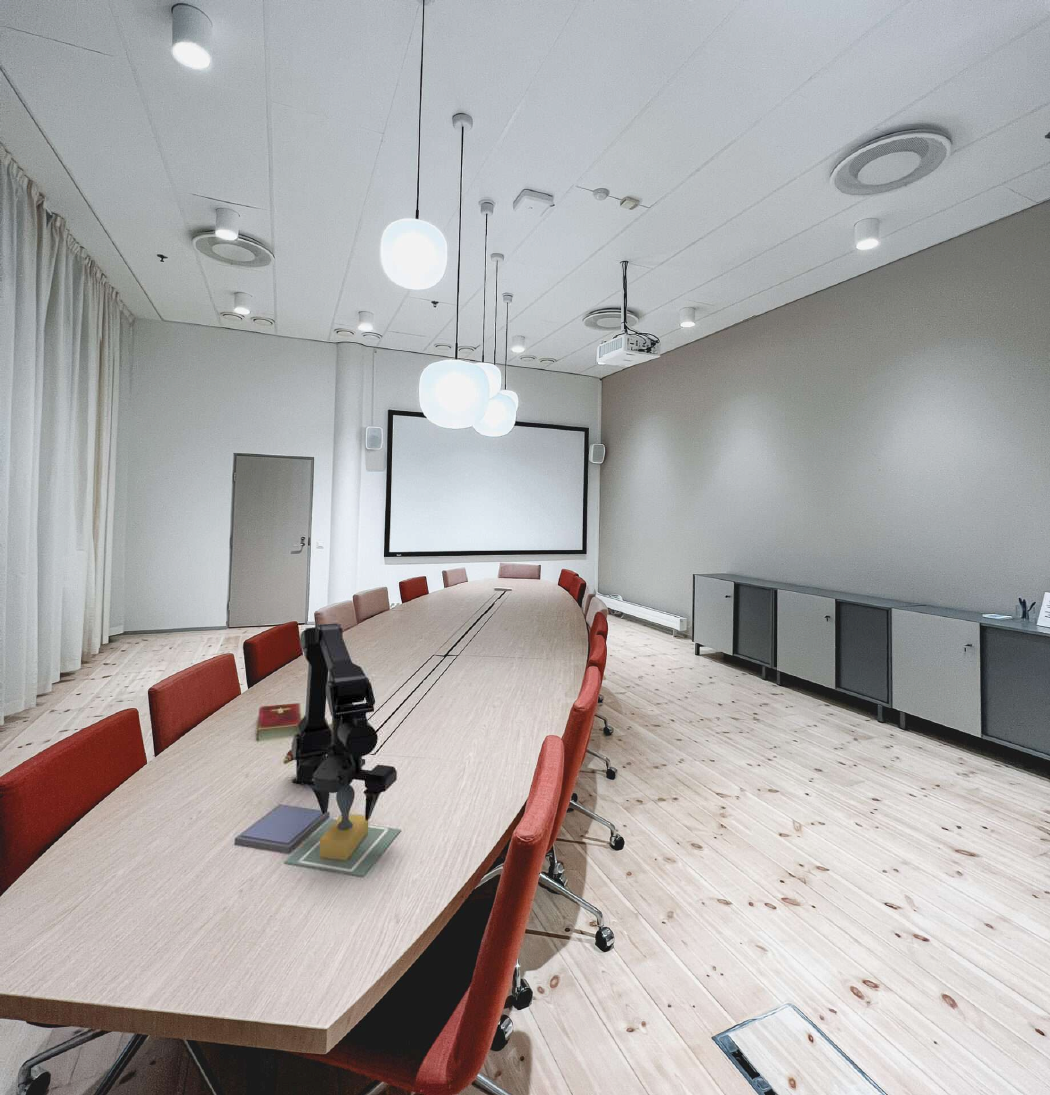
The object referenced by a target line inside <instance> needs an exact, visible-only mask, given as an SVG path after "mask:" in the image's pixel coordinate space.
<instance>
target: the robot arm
mask: <svg viewBox="0 0 1050 1095" xmlns="http://www.w3.org/2000/svg"><path fill="white" fill-rule="evenodd" d="M299 644H300V649H302V650H301V651H302V652H303V654H304V657H305V660H306V661H307V662H308V667H307V681H306V682H307V685H306V700H305V712H304V713H305V714H304V716H303V717H302V720H301V721H300V722H299V724H298V725H297V734H296V735H294V737H292V738H293V739H292V741H291V749H292V755H293V757H294V759H293V760H295V762H296V765H295V766H296V767H295V770H296V772H295V777H294V778H293V779H292V780H291V782H292V783H293V784H294V783H296V784H302V785H303V786H306V787H308V788H310V789H311V790H312V792H313V793H314V795H315V798H316V801H317V802H318V806H319V808H320V810H321V811H322V813H323V814H325V813H326V812H327V811H328V809H329V802H330V794H337V792H338V791H339V790H340V789H341V787H342V786H343V785H348V786H349V785H351V784H352V782H353V780H356V781H364V787H365V790H364V791H363V792H362V793H363V795H364V796H365V806H364V807H365V808H364V809H365V810H364V815H365V820H367V821H368V822H369V820H370V818H371V817H372V814H373V812H374V809H375V807H376V804H377V802H378V799H379V798H380V795H381V794H382V793H385V792H386V791H387V790H388V789H390V787H392V785H393V784H394V783H395V782H396V781H397V779H398V771H397V770H396V768H395V766H391V765H384V764H377V765H376V766H374V767H373V768H372V769H371V770H370V769H364V768H363V767H364V766H365V765H366V759H365V758H363V757H364V756H367V755H369V754H370V753H372V752H373V751H374V750H375V748H376V746H377V744H378V741H379V737H378V734H377V733H378V732H377V731H376V729H375V728H374V727H373V726H372V725H371V724H370V722H369V721H368V718H367V714H368V713H373V712H375V707H374V705H375V704H376V699H375V695H374V690H373V686H372V683H371V682H370V679H369V677H367V676H366V673H365V672H364V670H363V668H362V667H361V666H359V665H358V664H356V663H355V662H354V663H353V661H352V659H351V656H350V653H349V650H348V648H347V645H346V643H345V641H344V638H343V627H342V625H341V624H340V623H339V624H338V623H337V622H335V623H322V624H321V623H320V624H318V625H315V627H306V628H305V629H303V631H302V632H301V633H300V636H299ZM364 701H365V702H364ZM355 703H356V704H355ZM327 704H328V709H329V713H330V716H331V723H332V730H331V729H330V727H329V724H330V723H329V722H328V720H327V718H326V709H327V708H326V706H327ZM298 749H299V750H298Z"/></svg>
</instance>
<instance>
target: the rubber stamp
mask: <svg viewBox="0 0 1050 1095" xmlns="http://www.w3.org/2000/svg"><path fill="white" fill-rule="evenodd" d="M335 794H336V795H335V798H336V799H335V800H336V803H337V807H338V808H339V810H340V816H338V818H337V819H335V820H336V821H335V822H334V823H333V825H332V826H331V827H330V828H329V829H328V830H327V831H326V833H325V834H324V835H323V836H322V837H321V838H320V847H319V855H320V858H329V859H338V860H347V859H348V858H349V857H350V856H351V854H352V853H353V852H354V850H355V849H356V848H357V846H358V845H359V844H360V842H361V841H362V840H363V838H364V837H365V836H366V834H367V833H368V825H369V820H368V821H367V820H365V814H364V815H363V814H354V813H353V814H352V813H350V811H351V809H352V807H353V803H354V800H355V795H356V793H355V789H354V787H353V786H352V785H351V784H350V785H349V786H348V785H343V786H342V787H341V789H340V790H339V791H338V792H336V793H335Z"/></svg>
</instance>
